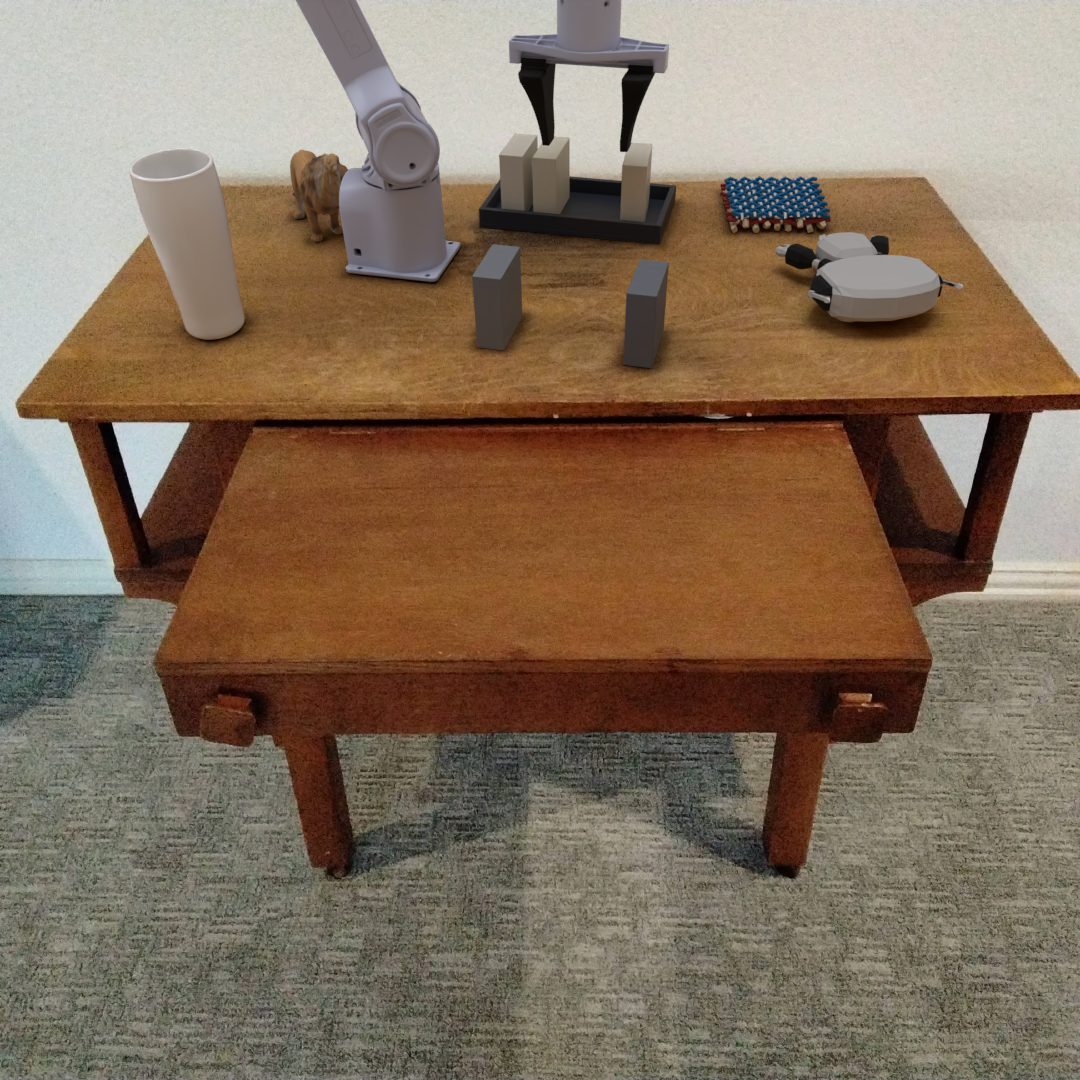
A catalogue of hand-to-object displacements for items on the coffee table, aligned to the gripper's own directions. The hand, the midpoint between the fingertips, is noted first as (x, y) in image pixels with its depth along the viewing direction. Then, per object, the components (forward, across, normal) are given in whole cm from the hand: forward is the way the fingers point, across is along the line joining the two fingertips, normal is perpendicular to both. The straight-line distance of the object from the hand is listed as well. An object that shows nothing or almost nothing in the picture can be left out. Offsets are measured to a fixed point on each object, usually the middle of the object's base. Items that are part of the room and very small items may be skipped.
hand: (586, 145), depth 94 cm
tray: (+9, +2, -5) cm, 11 cm away
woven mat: (+9, -18, -10) cm, 23 cm away
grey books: (+9, -3, +20) cm, 23 cm away
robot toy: (+9, -27, +7) cm, 30 cm away
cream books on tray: (+9, +6, -5) cm, 12 cm away
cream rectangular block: (+9, -4, -5) cm, 11 cm away
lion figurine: (+10, +28, +3) cm, 30 cm away
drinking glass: (+10, +29, +25) cm, 39 cm away
